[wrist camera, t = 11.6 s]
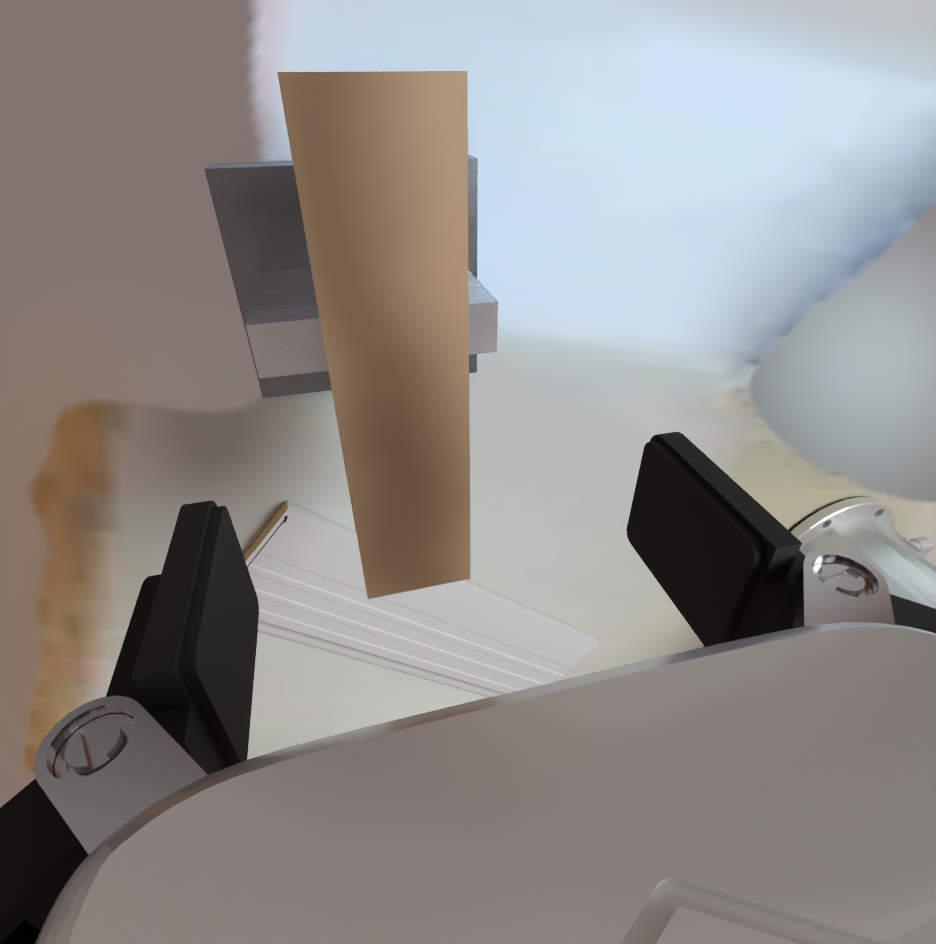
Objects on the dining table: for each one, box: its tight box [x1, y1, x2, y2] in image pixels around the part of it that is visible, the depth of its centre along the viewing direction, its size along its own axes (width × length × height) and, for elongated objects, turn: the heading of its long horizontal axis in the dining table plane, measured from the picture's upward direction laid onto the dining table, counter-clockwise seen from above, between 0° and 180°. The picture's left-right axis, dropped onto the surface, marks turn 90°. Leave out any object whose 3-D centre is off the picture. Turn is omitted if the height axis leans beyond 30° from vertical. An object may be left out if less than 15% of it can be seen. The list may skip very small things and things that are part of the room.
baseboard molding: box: [244, 501, 600, 697], centre depth 42 cm, size 31×3×12 cm
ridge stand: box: [205, 155, 498, 398], centre depth 23 cm, size 11×10×8 cm
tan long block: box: [278, 71, 470, 599], centre depth 18 cm, size 4×16×5 cm, turn 0°
